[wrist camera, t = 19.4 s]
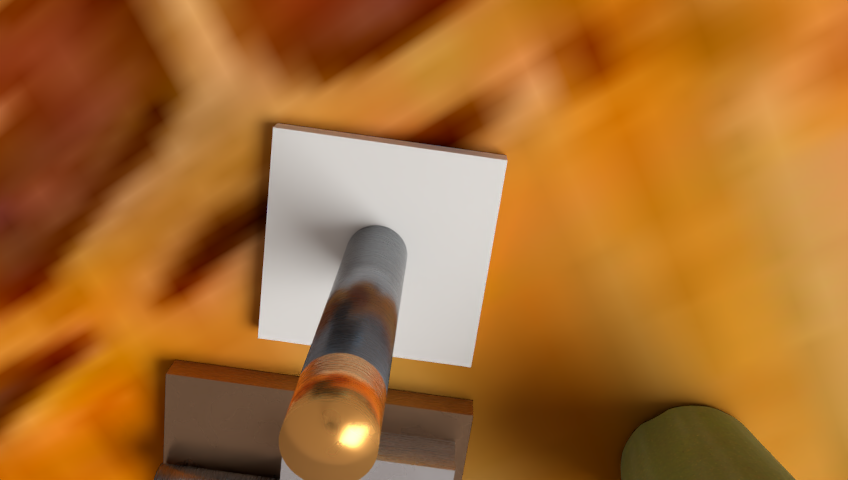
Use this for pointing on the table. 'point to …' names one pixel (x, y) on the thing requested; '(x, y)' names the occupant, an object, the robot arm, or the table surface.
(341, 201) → the mat
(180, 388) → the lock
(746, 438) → the plant pot
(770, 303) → the table surface
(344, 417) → the copper and gray cylinder
